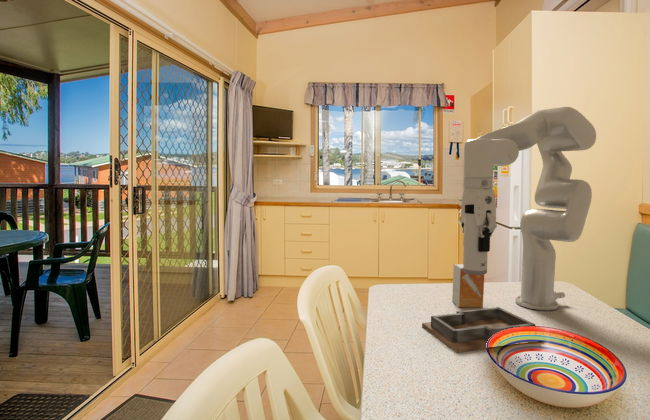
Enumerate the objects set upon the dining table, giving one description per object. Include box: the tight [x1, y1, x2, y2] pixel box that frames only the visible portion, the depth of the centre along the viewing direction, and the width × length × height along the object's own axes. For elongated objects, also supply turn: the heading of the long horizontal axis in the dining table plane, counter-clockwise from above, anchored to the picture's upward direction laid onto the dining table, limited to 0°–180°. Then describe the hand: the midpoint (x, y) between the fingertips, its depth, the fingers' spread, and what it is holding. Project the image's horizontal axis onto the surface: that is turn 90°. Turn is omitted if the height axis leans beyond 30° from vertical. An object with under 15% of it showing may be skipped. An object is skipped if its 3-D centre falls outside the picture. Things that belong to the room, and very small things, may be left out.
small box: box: [451, 263, 485, 308], centre depth 131 cm, size 8×6×13 cm
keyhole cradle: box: [421, 306, 536, 353], centre depth 107 cm, size 25×17×4 cm
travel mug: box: [462, 204, 489, 276], centre depth 110 cm, size 6×7×20 cm
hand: (476, 248), depth 110 cm, fingers closed on travel mug, 6 cm apart
